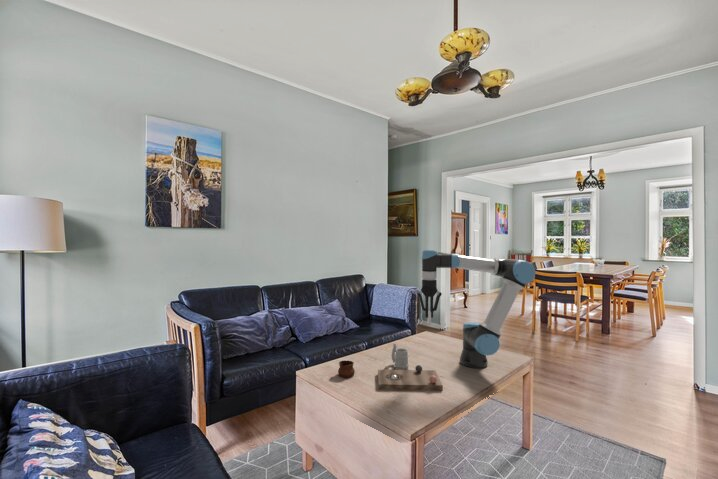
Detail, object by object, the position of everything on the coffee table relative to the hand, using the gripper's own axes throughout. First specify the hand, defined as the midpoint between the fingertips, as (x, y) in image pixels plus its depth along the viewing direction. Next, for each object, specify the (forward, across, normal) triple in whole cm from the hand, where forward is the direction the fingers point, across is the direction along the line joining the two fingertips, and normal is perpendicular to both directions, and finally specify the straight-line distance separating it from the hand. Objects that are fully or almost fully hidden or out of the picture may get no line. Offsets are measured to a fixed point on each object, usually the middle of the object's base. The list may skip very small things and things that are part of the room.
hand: (429, 323), depth 181 cm
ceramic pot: (+27, +44, +4) cm, 51 cm away
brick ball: (+22, +1, +18) cm, 28 cm away
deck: (+26, +12, +11) cm, 31 cm away
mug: (+27, +15, -9) cm, 32 cm away
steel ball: (+25, +19, +11) cm, 33 cm away
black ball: (+22, +6, +4) cm, 23 cm away
